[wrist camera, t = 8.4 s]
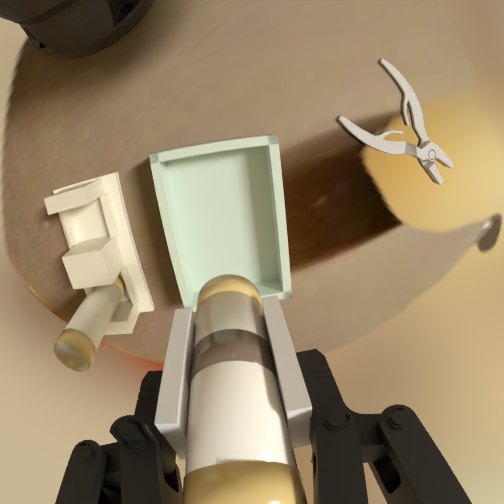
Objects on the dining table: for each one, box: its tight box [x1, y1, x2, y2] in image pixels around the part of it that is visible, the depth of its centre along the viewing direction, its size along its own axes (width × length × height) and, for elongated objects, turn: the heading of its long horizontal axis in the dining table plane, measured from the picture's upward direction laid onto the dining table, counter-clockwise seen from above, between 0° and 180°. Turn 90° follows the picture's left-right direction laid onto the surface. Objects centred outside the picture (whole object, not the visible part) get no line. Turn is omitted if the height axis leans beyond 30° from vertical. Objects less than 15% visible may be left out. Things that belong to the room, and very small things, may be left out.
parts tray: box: [149, 135, 292, 312], centre depth 28 cm, size 16×11×4 cm
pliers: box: [338, 59, 454, 185], centre depth 27 cm, size 10×2×15 cm
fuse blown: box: [183, 274, 307, 504], centre depth 11 cm, size 4×4×12 cm
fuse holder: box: [44, 172, 154, 335], centre depth 27 cm, size 16×8×5 cm, turn 7°
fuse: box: [54, 275, 126, 371], centre depth 25 cm, size 4×4×12 cm
